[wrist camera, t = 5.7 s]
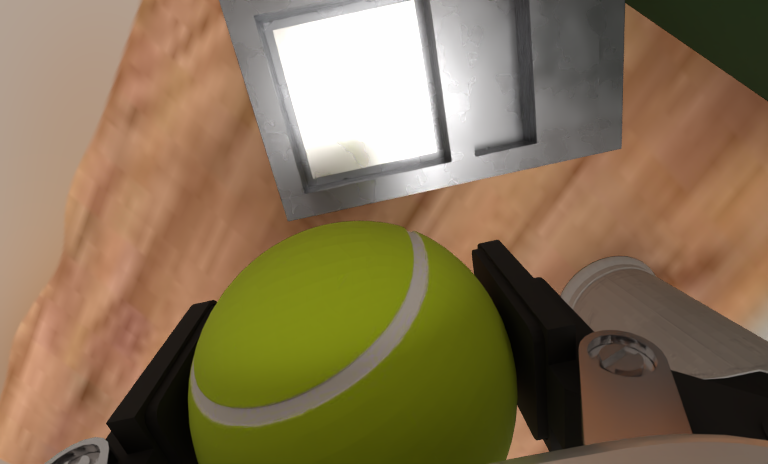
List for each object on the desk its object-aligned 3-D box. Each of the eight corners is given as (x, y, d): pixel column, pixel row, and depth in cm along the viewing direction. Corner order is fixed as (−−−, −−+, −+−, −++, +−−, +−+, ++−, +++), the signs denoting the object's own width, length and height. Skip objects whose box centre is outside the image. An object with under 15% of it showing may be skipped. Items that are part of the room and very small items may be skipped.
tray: (594, 143, 26) (621, 148, 24) (294, 209, 26) (287, 221, 24) (594, -75, 22) (627, -99, 19) (232, 2, 22) (215, -11, 19)
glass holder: (661, 246, 30) (939, 378, 16) (647, 384, 35) (849, 578, 21) (556, 267, 30) (741, 418, 16) (557, 402, 34) (698, 610, 20)
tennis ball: (490, 331, 13) (629, 584, 6) (311, 403, 13) (271, 699, 7) (417, 146, 10) (526, 255, 4) (198, 245, 11) (-31, 485, 4)
